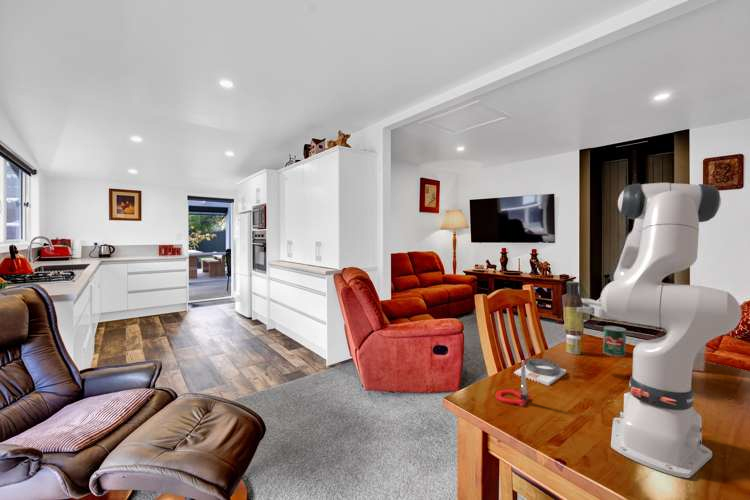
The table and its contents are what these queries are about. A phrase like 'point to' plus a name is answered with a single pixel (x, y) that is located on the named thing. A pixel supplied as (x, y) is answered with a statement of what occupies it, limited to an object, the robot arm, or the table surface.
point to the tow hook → (522, 395)
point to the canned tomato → (614, 340)
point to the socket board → (543, 378)
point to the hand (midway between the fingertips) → (571, 307)
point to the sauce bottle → (573, 310)
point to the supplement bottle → (573, 344)
